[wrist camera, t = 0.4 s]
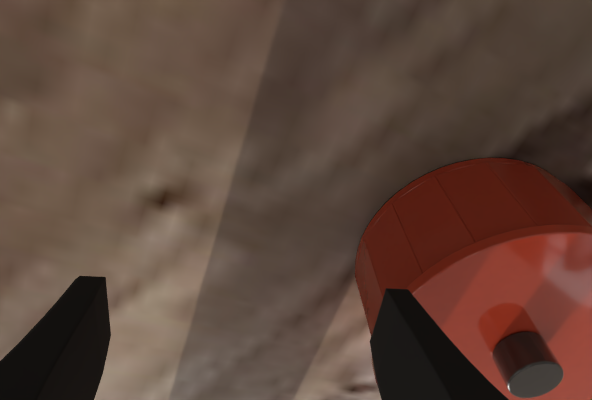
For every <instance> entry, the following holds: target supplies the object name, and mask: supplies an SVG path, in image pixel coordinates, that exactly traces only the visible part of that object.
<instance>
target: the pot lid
mask: <svg viewBox="0 0 592 400" xmlns="http://www.w3.org/2000/svg"><path fill="white" fill-rule="evenodd" d="M405 289H408V290H409V291H410V292H411V293H412V295H413V296H414V297H415V298H416V299H417V301H418V302H419V303H420V304H421V306H422V307H423V308H424V309H425V310H426V312H427V313H428V314H429V315H430V316H431V318H432V319H433V320H434V321H435V322H436V324H437V325H438V326H439V327H440V328H441V330H442V331H443V332H444V333H445V334H446V336H447V337H448V338H449V339H450V340H451V341H452V342H453V343H454V345H455V346H456V347H457V348H458V349H459V350H460V351H461V352H462V354H463V355H464V356H465V357H466V358H467V359H468V360H469V361H470V362H471V363H472V364H473V365H474V366H475V367H476V368H477V369H478V370H479V371H480V372H481V373H482V374H483V375H484V376H485V377H486V378H487V380H488V381H489V382H491V383H492V384H493V385H494V386H495V387H496V388H497V389H498V390H499V391H500V392H501V393H502V394H503V395H504V396H506V397H507V398H508V399H509V400H591V399H592V227H590V226H582V225H574V224H549V225H539V226H530V227H525V228H520V229H515V230H510V231H506V232H503V233H500V234H497V235H493V236H490V237H487V238H484V239H482V240H480V241H477V242H475V243H472V244H470V245H467V246H465V247H463V248H461V249H460V250H458V251H456V252H454V253H452V254H450V255H448V256H446V257H445V258H443V259H442V260H440V261H439V262H437V263H436V264H434V265H432V266H431V267H429V268H428V269H427V270H426V271H424V272H423V273H422V274H421V275H419V276H418V277H417V278H416V279H414V280H413V281H412V282H411V283H410V284H409V285H408V286H407V287H406V288H405ZM372 365H373V358H372ZM373 371H374V365H373ZM374 375H375V371H374ZM375 379H376V376H375ZM376 383H377V381H376ZM377 385H378V384H377Z"/></svg>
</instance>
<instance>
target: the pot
mask: <svg viewBox="0 0 592 400" xmlns="http://www.w3.org/2000/svg"><path fill="white" fill-rule="evenodd" d="M549 224H574V225H582V226H590V227H592V209H591V208H590V207H589V206H588V205H587V204H586V203H585V202H584V201H583V200H582V199H581V198H580V197H579V196H578V195H577V194H576V193H575V192H574V191H573V190H572V189H571V188H570V187H569V186H567V185H566V184H564V183H563V182H561V181H559V180H558V179H557V178H556V177H555V176H553V175H552V174H550V173H549V172H547V171H546V170H544V169H542V168H540V167H538V166H536V165H533V164H530V163H527V162H523V161H520V160H514V159H507V158H481V159H472V160H467V161H462V162H457V163H454V164H451V165H448V166H445V167H442V168H439V169H437V170H434V171H432V172H430V173H428V174H425V175H423V176H422V177H420V178H418V179H416V180H415V181H413V182H411V183H410V184H408V185H407V186H405V187H404V188H403V189H401V190H400V191H399V192H397V193H396V194H395V195H394V196H393V197H392V198H390V199H389V200H388V201H387V202H386V203H385V204H384V205H383V206H382V207H381V209H380V210H379V211H378V212H377V213H376V214H375V216H374V217H373V219H372V220H371V222H370V223H369V225H368V226H367V228H366V230H365V232H364V234H363V236H362V238H361V241H360V244H359V247H358V250H357V255H356V261H355V278H356V281H357V285H358V289H359V292H360V296H361V300H362V304H363V307H364V311H365V315H366V319H367V322H368V326H369V330H370V333H371V336H372V333H373V330H374V326H375V323H376V320H377V316H378V313H379V310H380V307H381V303H382V300H383V297H384V293H385V290H386V288H391V289H405V288H406V287H407V286H408V285H409V284H410V283H411V282H412V281H413V280H414V279H416V278H417V277H418V276H419V275H421V274H422V273H423V272H424V271H426V270H427V269H428V268H429V267H431V266H432V265H434V264H436V263H437V262H439V261H440V260H442V259H443V258H445V257H446V256H448V255H450V254H452V253H454V252H456V251H458V250H460V249H461V248H463V247H465V246H467V245H470V244H472V243H475V242H477V241H480V240H482V239H484V238H487V237H490V236H493V235H497V234H500V233H503V232H506V231H510V230H515V229H520V228H525V227H530V226H539V225H549Z"/></svg>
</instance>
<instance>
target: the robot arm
mask: <svg viewBox="0 0 592 400" xmlns="http://www.w3.org/2000/svg"><path fill="white" fill-rule="evenodd" d="M110 336H111V332H110V321H109V310H108V300H107V289H106V278H105V277H91V276H79V277H78V278H77V279H75V280H74V282H73V283H72V284H71V285H70V287H69V288H68V289H67V290H66V291H65V293H64V294H63V295H62V296H61V297H60V298H59V300H58V301H57V302H56V303H55V304H54V305H53V307H52V308H51V309H50V310H49V311H48V312H47V313H46V314H45V316H44V317H43V318H42V319H41V320H40V321H39V322H38V323H37V324H36V325H35V326H34V327H33V329H32V330H31V331H30V332H29V333H28V334H27V335H26V336H25V337H24V338H23V339H22V340H21V341H20V342H19V343H18V344H17V345H16V346H15V347H14V348H13V349H12V350H11V351H10V352H9V353H8V354H7V355H6V356H5V357H4V358H3V359H2V360H1V361H0V400H94V398H95V395H96V392H97V389H98V386H99V383H100V380H101V377H102V374H103V370H104V365H105V360H106V356H107V351H108V346H109V341H110ZM370 345H371V351H372V358H373V365H374V371H375V376H376V381H377V384H378V388H379V391H380V395H381V398H382V400H509V399H508V398H507V397H506V396H504V395H503V394H502V393H501V392H500V391H499V390H498V389H497V388H496V387H495V386H494V385H493V384H492V383H491V382H489V381H488V380H487V378H486V377H485V376H484V375H483V374H482V373H481V372H480V371H479V370H478V369H477V368H476V367H475V366H474V365H473V364H472V363H471V362H470V361H469V360H468V359H467V358H466V357H465V356H464V355H463V354H462V352H461V351H460V350H459V349H458V348H457V347H456V346H455V345H454V343H453V342H452V341H451V340H450V339H449V338H448V337H447V336H446V334H445V333H444V332H443V331H442V330H441V328H440V327H439V326H438V325H437V324H436V322H435V321H434V320H433V319H432V318H431V316H430V315H429V314H428V313H427V312H426V310H425V309H424V308H423V307H422V306H421V304H420V303H419V302H418V301H417V299H416V298H415V297H414V296H413V295H412V293H411V292H410V291H409V290H408V289H391V288H386V290H385V293H384V297H383V300H382V303H381V307H380V310H379V313H378V316H377V320H376V323H375V326H374V330H373V333H372V336H371V340H370Z"/></svg>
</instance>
